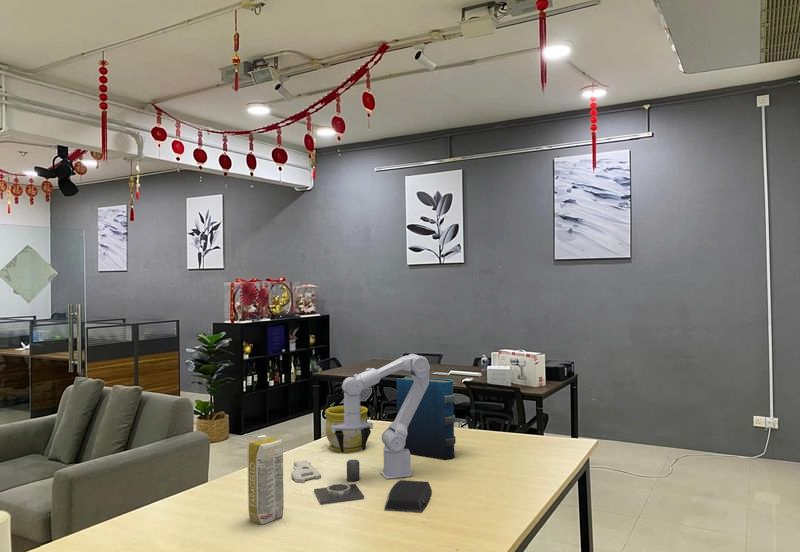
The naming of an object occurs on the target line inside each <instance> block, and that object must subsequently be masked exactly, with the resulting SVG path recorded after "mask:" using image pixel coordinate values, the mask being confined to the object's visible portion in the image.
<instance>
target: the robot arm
mask: <svg viewBox="0 0 800 552" xmlns="http://www.w3.org/2000/svg"><path fill="white" fill-rule="evenodd" d="M430 369H431V366H430V363H429V360H428V359H427V357H425V356H423V355H418V354H416V353H409V354H408V355H403V356H401V357H399V358H397V359H396V360H394V361H392V362H389V363H388V364H386V365H384V366H382V367H380V368H377V369H376V368H373V367H372V368H370V367H367V368H365V371H363V372H361V373H358V374H357V373H355V374H353V376H352V377H351V376H349V377H346V378H345V379H344V380H343V382H342V384H341V389H342V390H343V396H344V397H343V406H344V424H341V425H335V426H332V432H333V433H335V435H336V437H337V440H338V442H339V446H340V452H339V453H342V454H343V453H344V447H343V439H344V434H343V432H342V431H350V430H361V437H362V445H361V447H362V449H361V450H362V451H366V446H367V442H368V440H369V437H370V435H371V432H372V431H371V429H372V430H373V428H374V423H373V422H371V421H370V422H368V421H367V422H368V423H360V406H361V398H360V397H361V395H360V394H361V393H362V391H363V390H366V389H368V388H370V387H373V386H374V385H376V384H377V385H378V384H379V383H380V381H381V379H382V378H385V377H387V376H389V375H392V374H394V373H397V372H399V371H407V372H409V373H410V376H411V377H412V378H413V381H414V383H413V385H412V387H411V389H410V391H409V393H408V395H407V397H406V399H405V401H404V403H403V405H402V407H401V409H400V411H399V413H398V415H397V414H396V417H395V419H394V420H393V422H391V423H390V424H389V426H388V427H387V429H385V430H384V431H383V432H382V433H381V442H382V444H384V446H383V470H381V471H380V474H381V475H382V476H383V477H384V478H385V479H386V480H389V479H390V480H391V479H400V478H405V477H411V476H413V475H412V459H411V458H412V457H411V456H412V455H410V452H409V450H408V449H403V448H404V446H405V440H406V437H407V427H408V425H409V423H410V421H411V419H412V417H413V415H414V413H415V411H416V409H417V407H418V405H419V403H420V401H421V399H422V397H423V395H424V393H425V391H426V389H427V387H428V385H429V378H430Z"/></svg>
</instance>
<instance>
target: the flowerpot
mask: <svg viewBox="0 0 800 552" xmlns="http://www.w3.org/2000/svg"><path fill="white" fill-rule="evenodd" d="M368 411H369V408H367V407H366V406H363V405H360V423H368V414H367V413H368ZM324 413H325V415H326V416H325V435H326V438H327V441H328V442H329V443H330V444H329V447H330V448H331V450H332V451H333V452H336V453H341V452H340V446H339V442H338V440H337V437H336V435H335V433H333V432H332V426H335V425H341V424H344V405H337V406H332V407H328V408H326V409H325V410H324ZM342 432H343V434H344V439H343V447H344V453H345V454H346V453H347V454H348V453H354V452H358V451H361V450H362V447H361V445H362V437H361V430H350V431H342Z"/></svg>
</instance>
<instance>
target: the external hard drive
mask: <svg viewBox="0 0 800 552" xmlns="http://www.w3.org/2000/svg"><path fill="white" fill-rule="evenodd" d="M432 492H433V490H432V487H431V485H430V483H429V481H421V480H420V481H419V480H406V479H405V480H403V479H399V480H398V481H396V482H395V483H394V484H393V485H392V487H391V488H390V489H389V492H388V494H387V497H386V500H385V504H384V508H383V511H386V512H400V513H401V512H404V513H415V514H416V513H417V514H422V513H423V512H424V511H425V510H426V508H427V506H428V505H427V504H429V503H430V501H429V500H431V498H430V497H432ZM428 502H429V503H428Z"/></svg>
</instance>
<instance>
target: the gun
mask: <svg viewBox="0 0 800 552" xmlns="http://www.w3.org/2000/svg"><path fill="white" fill-rule="evenodd" d="M292 468H293V471H292V472H291V475H290V476H291V478H292V479H293V480H294V482H295V483H300V482H302V483H303V484H304V483H305V481H308V480H312V479H315V480H319V479H321V478H322V474H321V473H320V472H319V471H318V468H316V467H314V466H313V465H312V464H311V462H309V461H308V460H306V459H305V460H299V461H294V462H293V467H292ZM302 483H301V484H302Z"/></svg>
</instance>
